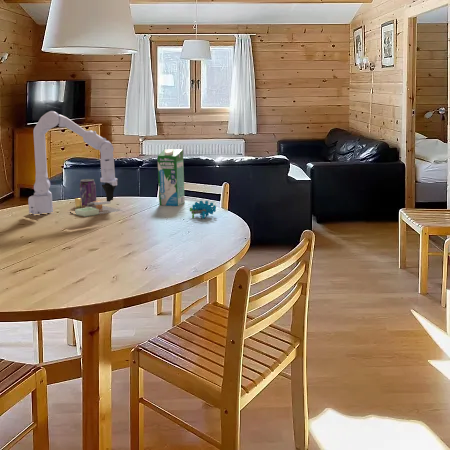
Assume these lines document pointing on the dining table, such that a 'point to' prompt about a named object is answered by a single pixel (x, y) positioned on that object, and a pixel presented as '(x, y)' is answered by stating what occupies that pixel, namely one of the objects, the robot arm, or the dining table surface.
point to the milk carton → (171, 177)
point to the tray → (87, 211)
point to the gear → (202, 209)
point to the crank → (98, 203)
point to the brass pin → (78, 203)
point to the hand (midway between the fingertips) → (109, 200)
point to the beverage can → (87, 191)
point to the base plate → (103, 209)
